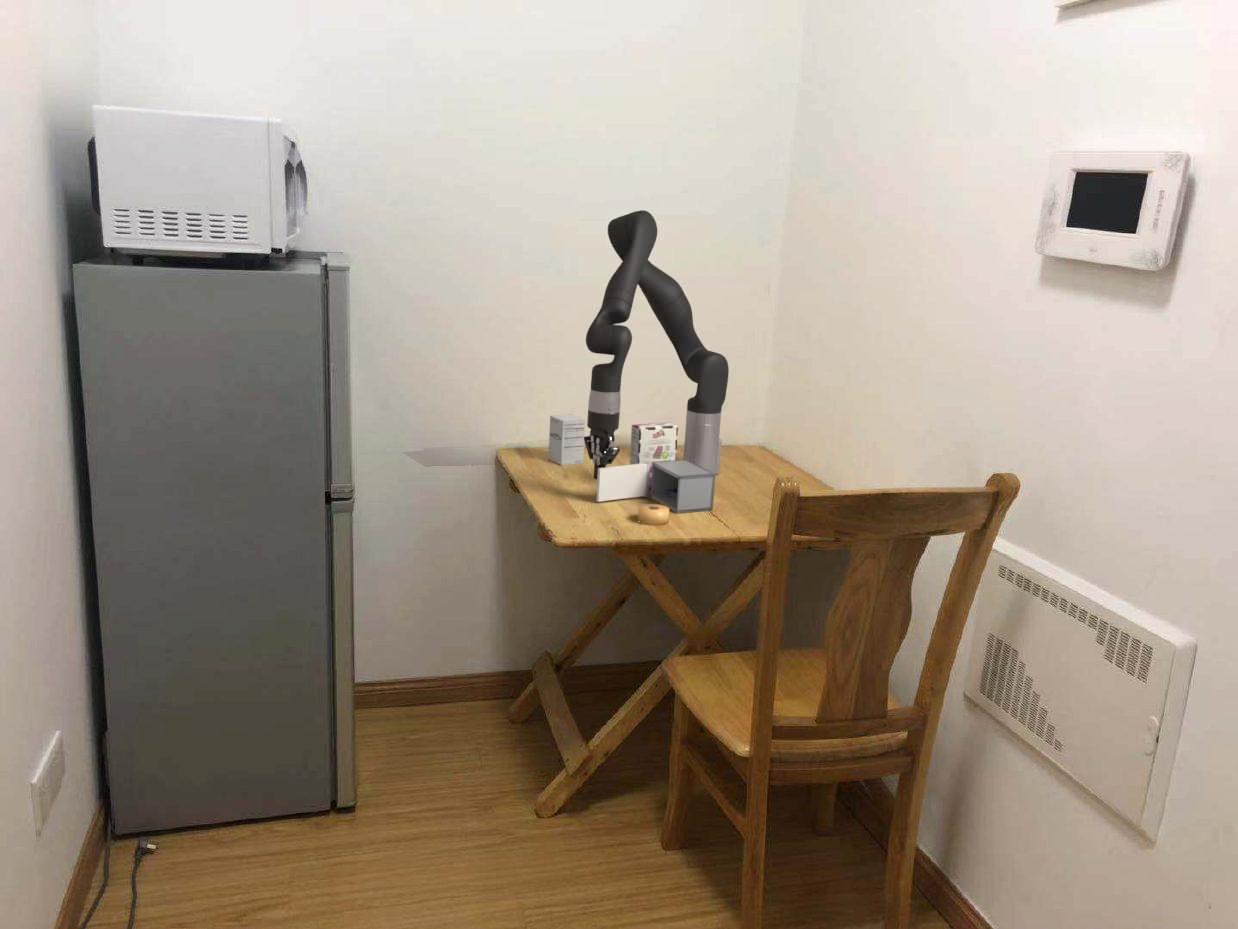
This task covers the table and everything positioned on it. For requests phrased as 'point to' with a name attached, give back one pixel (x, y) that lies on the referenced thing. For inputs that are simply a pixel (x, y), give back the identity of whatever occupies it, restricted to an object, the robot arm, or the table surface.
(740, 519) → the table surface
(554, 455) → the supplement box
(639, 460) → the candy bar box
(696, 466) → the box
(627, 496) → the cover
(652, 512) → the tan donut
